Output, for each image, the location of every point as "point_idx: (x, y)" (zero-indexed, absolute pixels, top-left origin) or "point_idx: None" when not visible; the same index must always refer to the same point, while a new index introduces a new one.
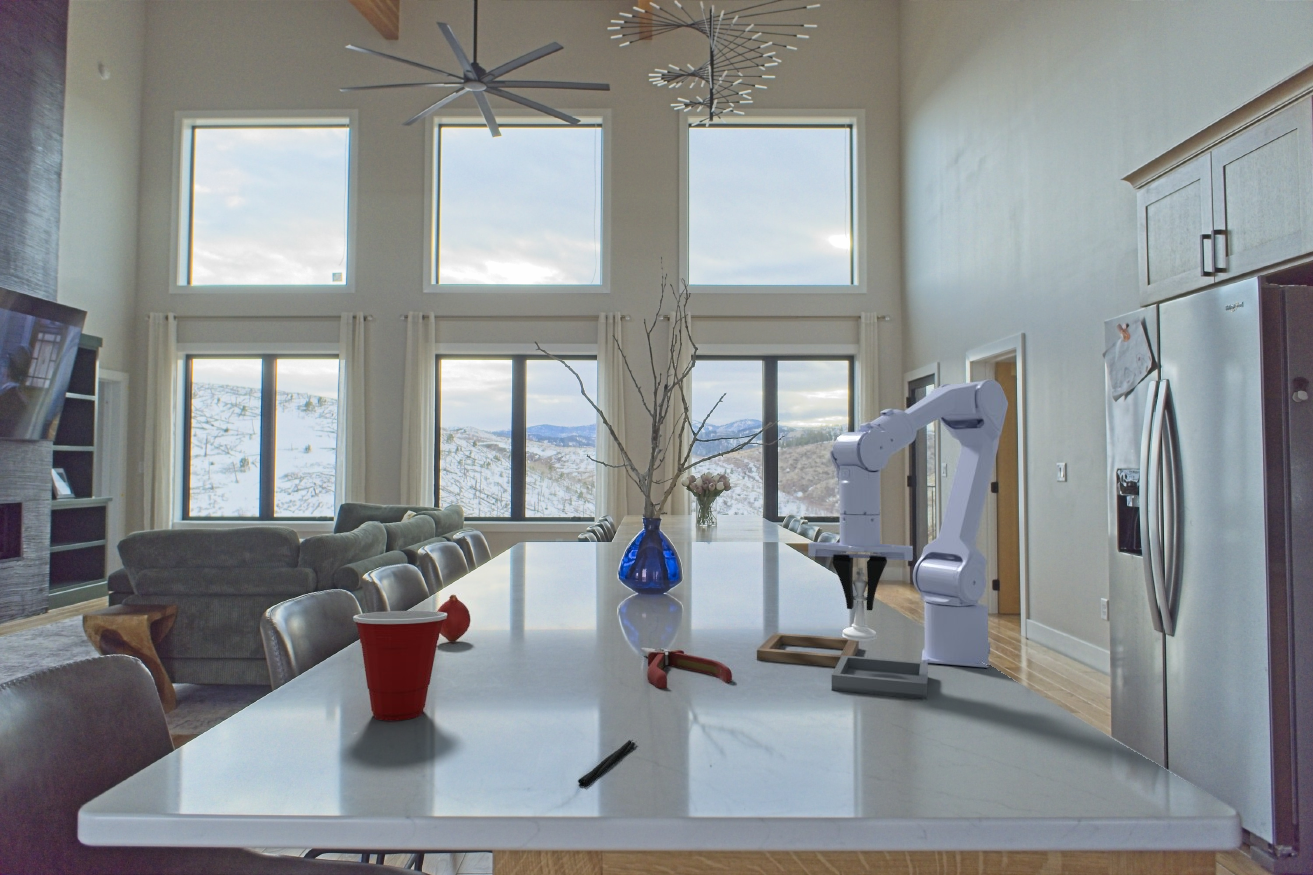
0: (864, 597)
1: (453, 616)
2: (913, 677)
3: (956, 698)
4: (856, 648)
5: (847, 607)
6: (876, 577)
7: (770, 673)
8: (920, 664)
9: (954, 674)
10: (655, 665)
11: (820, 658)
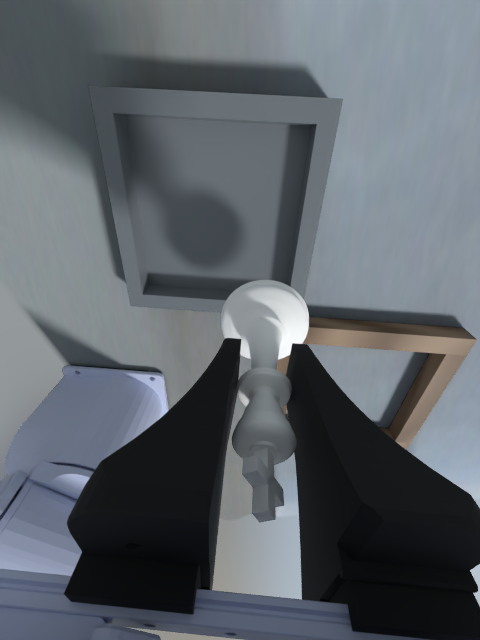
0: (247, 385)
1: None
2: (157, 256)
3: (53, 134)
4: None
5: (308, 346)
6: (171, 420)
7: (461, 227)
8: (140, 287)
9: (103, 321)
10: None
11: (340, 325)
